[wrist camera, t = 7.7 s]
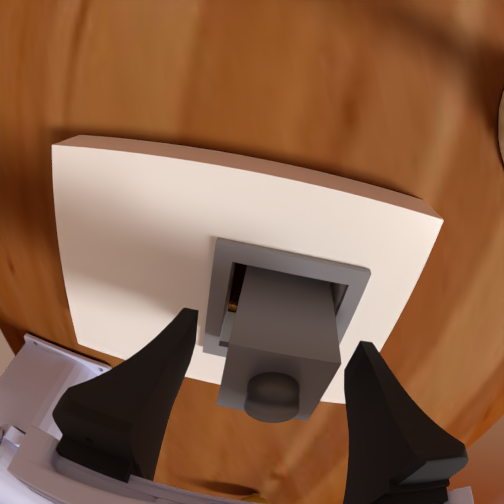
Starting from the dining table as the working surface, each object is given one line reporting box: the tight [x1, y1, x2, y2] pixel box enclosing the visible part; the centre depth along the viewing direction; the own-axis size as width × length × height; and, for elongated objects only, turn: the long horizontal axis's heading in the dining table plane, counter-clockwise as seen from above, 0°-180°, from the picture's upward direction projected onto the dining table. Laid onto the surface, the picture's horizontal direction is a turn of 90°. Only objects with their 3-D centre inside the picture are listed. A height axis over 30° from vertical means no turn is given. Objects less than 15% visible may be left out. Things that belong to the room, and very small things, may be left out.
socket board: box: [52, 135, 443, 404], centre depth 16 cm, size 18×13×3 cm
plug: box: [217, 265, 342, 423], centre depth 14 cm, size 4×4×8 cm
